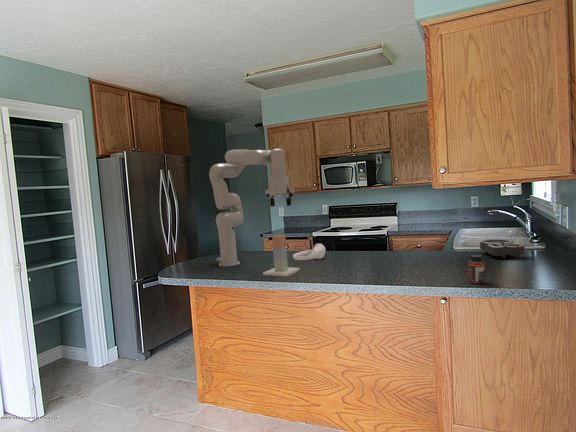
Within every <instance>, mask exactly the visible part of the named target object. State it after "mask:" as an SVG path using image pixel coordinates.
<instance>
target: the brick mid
mask: <svg viewBox="0 0 576 432" xmlns="http://www.w3.org/2000/svg"><path fill="white" fill-rule="evenodd" d="M287 251H288V250H287V246H286V247H284V248H273V247H272V252H273V253H272V255H273V256H272V257H273V261H274V260H283V259H286V258H287V259H288V253H287Z"/></svg>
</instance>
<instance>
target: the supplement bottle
mask: <svg viewBox="0 0 576 432" xmlns="http://www.w3.org/2000/svg"><path fill="white" fill-rule="evenodd" d="M482 258H483V257H482V255H481V254H471V255H470V260H468V281H469V283H470V284H472V283H474V284H473V285H482V284H481V283H483V284H485V281H486V275H485V274H486V273H485V272H486V271H485V261H484V260H483V259H482Z"/></svg>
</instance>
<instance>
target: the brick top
mask: <svg viewBox="0 0 576 432" xmlns="http://www.w3.org/2000/svg"><path fill="white" fill-rule="evenodd" d="M271 238H272V249H273V248H284V247H286V248H287V239H286V235H283V234H282V235H281V234H276V235H272V237H271Z"/></svg>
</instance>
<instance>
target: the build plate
mask: <svg viewBox="0 0 576 432" xmlns="http://www.w3.org/2000/svg"><path fill="white" fill-rule="evenodd" d="M273 262H274V263H273V264H274V265H273V266H274V267H273V268H271V269H269V270H266V271H264V272H262V275H263V276H271V275H272V277H273V276H276V277H289V276H291V275H292V274H295V273H297V272H299V271H301V270H300V267H289V266H288V257H287V258H286V259H283V260H274V259H273Z"/></svg>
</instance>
